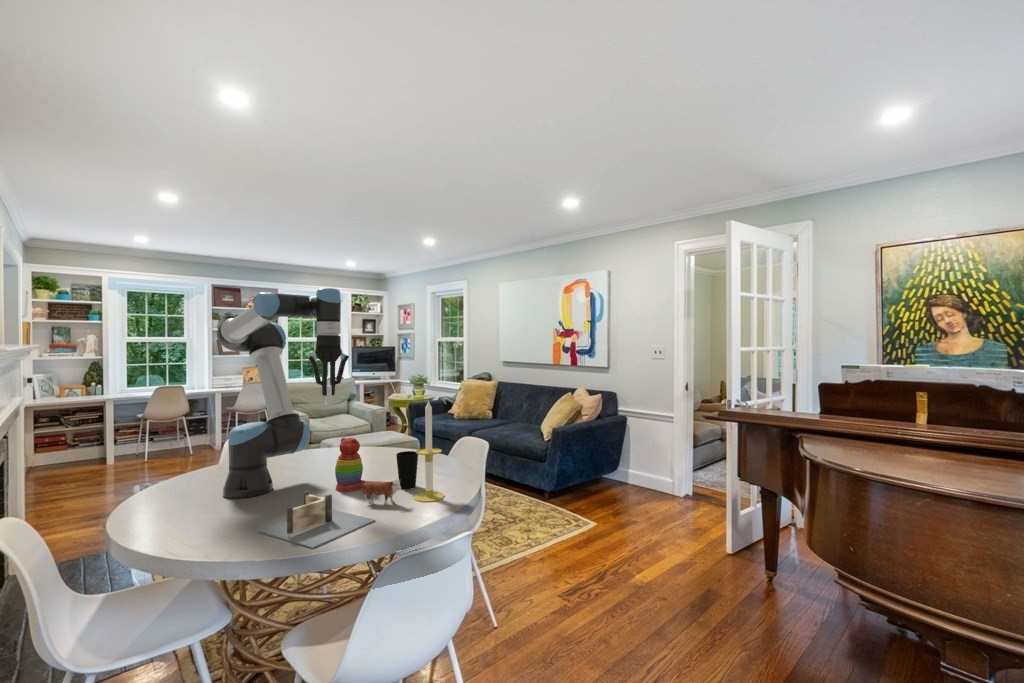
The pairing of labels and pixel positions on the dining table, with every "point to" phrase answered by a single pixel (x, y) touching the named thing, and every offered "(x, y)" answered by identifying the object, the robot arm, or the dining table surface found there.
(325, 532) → the card
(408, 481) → the cup
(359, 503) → the dining table surface
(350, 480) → the stacking bear
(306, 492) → the fence fixed
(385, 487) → the bull figurine
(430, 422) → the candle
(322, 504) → the fence hinged
